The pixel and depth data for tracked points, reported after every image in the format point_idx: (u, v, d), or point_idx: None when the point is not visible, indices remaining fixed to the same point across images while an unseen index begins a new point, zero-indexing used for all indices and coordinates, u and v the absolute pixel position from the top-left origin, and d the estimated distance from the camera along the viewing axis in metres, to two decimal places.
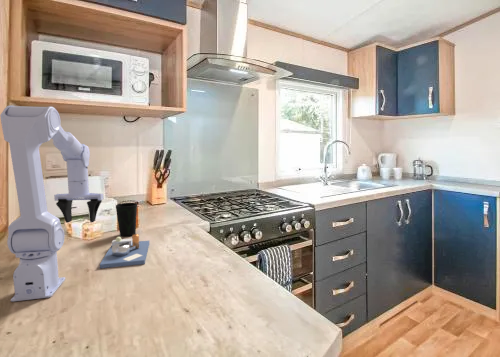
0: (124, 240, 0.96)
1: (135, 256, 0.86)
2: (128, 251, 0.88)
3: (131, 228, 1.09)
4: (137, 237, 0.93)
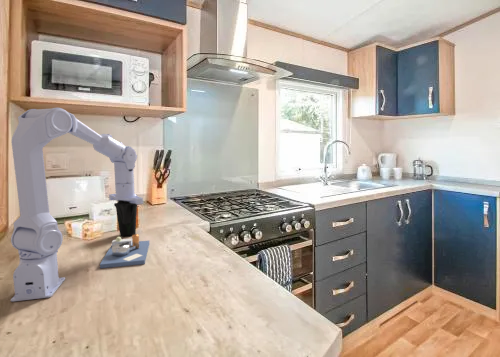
0: (124, 240, 0.96)
1: (135, 256, 0.86)
2: (128, 251, 0.88)
3: (131, 228, 1.09)
4: (137, 237, 0.93)
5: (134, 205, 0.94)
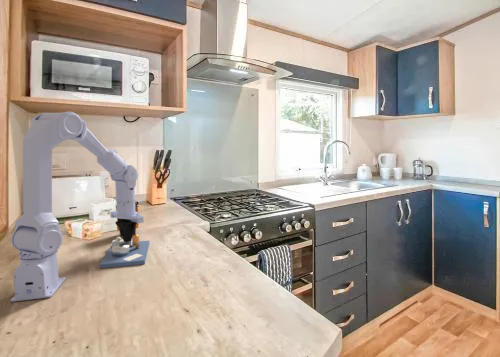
0: None
1: (135, 256, 0.86)
2: (128, 251, 0.88)
3: None
4: (137, 237, 0.93)
5: (135, 223, 0.95)
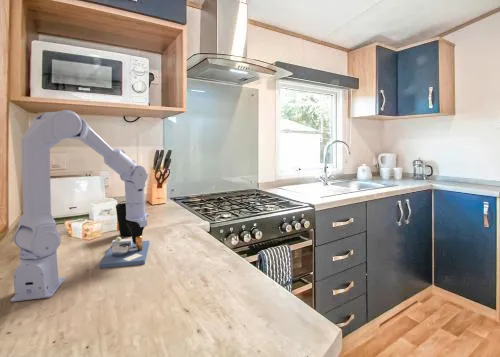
0: (124, 240, 0.96)
1: (135, 256, 0.86)
2: (126, 252, 0.87)
3: None
4: (139, 239, 0.91)
5: None
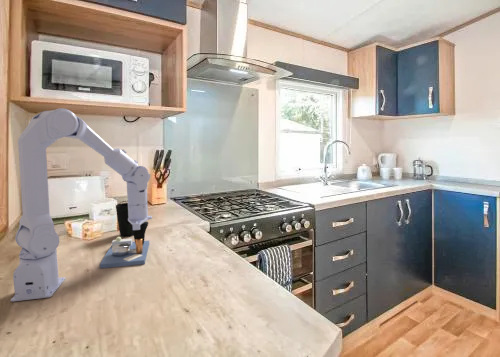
0: (124, 240, 0.96)
1: (135, 256, 0.86)
2: (122, 253, 0.87)
3: None
4: (138, 242, 0.88)
5: (143, 228, 0.89)
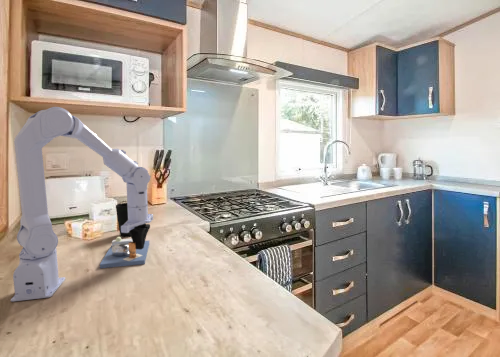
0: (124, 240, 0.96)
1: None
2: (116, 254, 0.86)
3: None
4: (129, 246, 0.85)
5: (139, 232, 0.85)
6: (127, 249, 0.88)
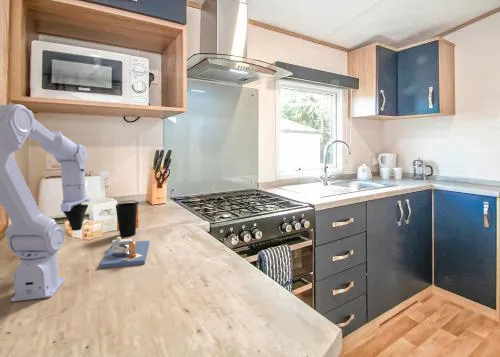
0: (124, 240, 0.96)
1: None
2: (116, 254, 0.86)
3: (131, 228, 1.09)
4: (129, 246, 0.85)
5: (78, 211, 0.82)
6: (127, 249, 0.88)
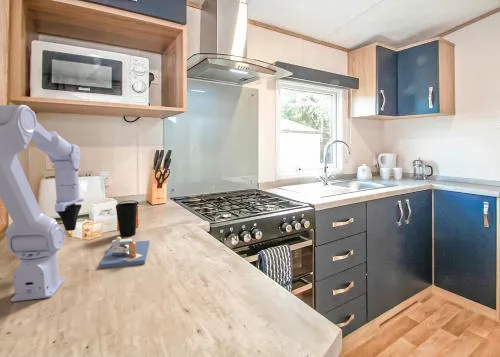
0: (124, 240, 0.96)
1: None
2: (116, 254, 0.86)
3: (131, 228, 1.09)
4: (129, 246, 0.85)
5: (72, 211, 0.82)
6: (127, 249, 0.88)
